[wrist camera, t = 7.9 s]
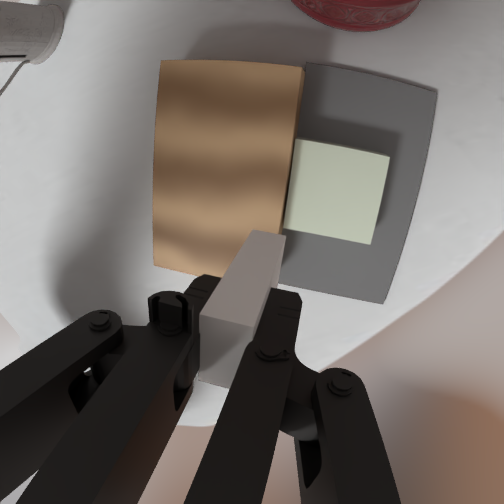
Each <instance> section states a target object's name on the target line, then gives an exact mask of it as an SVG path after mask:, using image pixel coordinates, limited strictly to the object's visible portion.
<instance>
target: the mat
mask: <svg viewBox="0 0 504 504" xmlns="http://www.w3.org/2000/svg"><path fill="white" fill-rule="evenodd" d="M436 98H437V93H436V92H432V91H429V90H426V89H423V88H420V87H417V86H413V85H410V84H406V83H403V82H399V81H395V80H392V79H388V78H384V77H380V76H376V75H371V74H367V73H362V72H358V71H353V70H348V69H343V68H338V67H332V66H326V65H320V64H314V63H306V71H305V79H304V86H303V94H302V101H301V108H300V116H299V123H298V130H297V137H302V138H308V139H314V140H320V141H325V142H331V143H336V144H342V145H347V146H352V147H357V148H361V149H366V150H371V151H375V152H380V153H384V154H386V155H388V156H389V157H390V160H389V165H388V170H387V175H386V180H385V185H384V189H383V194H382V199H381V203H380V207H379V212H378V216H377V220H376V224H375V228H374V232H373V236H372V240H371V244H370V245H369V244H364V243H359V242H354V241H349V240H344V239H339V238H334V237H328V236H323V235H318V234H313V233H307V232H302V231H297V230H291V229H286V228H283V229H282V235H285V236H286V240H285V246H284V251H283V257H282V263H281V269H280V274H279V280H278V283H279V284H284V285H289V286H293V287H298V288H303V289H308V290H313V291H318V292H322V293H327V294H332V295H337V296H342V297H347V298H352V299H357V300H362V301H367V302H373V303H378V304H383V303H384V301H385V298H386V295H387V292H388V290H389V287H390V284H391V281H392V278H393V275H394V272H395V269H396V266H397V263H398V260H399V257H400V254H401V251H402V248H403V245H404V241H405V238H406V235H407V231H408V228H409V224H410V221H411V217H412V214H413V210H414V206H415V202H416V199H417V195H418V191H419V186H420V182H421V178H422V174H423V169H424V165H425V160H426V155H427V151H428V145H429V140H430V135H431V129H432V124H433V118H434V111H435V105H436ZM297 137H296V138H297ZM286 205H287V204H286ZM285 212H286V210H285ZM284 219H285V217H284ZM283 226H284V223H283Z"/></svg>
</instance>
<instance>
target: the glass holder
mask: <svg viewBox="0 0 504 504" xmlns="http://www.w3.org/2000/svg"><path fill="white" fill-rule="evenodd" d="M63 27H64V16H63V12H62V10H61V8H60V7H58V6H57V5H47V6H39V5H32V4H24V3H16V2H6V1H0V62H18V61H24V62H22V63H20V64H19V66H18V67H17V68H16V69H15V71H14V72H13V73H12V75H11V76H10V78H9V79H8V81H7V82H6V84H5V85H4V86H3V88H2V89H1V90H0V96H1V95H2V93H3V92H4V91H5V89H6V88H7V86H8V85H9V84H10V82H11V81H12V79H13V78H14V76H15V75H16V74H17V72H18V71H19V69H20V68H21V67H22V66H23V65H24V64H27V63H31V64H40V63H42V62H44V61H45V60H47V59H48V58H49V57H50V56H51V54H52V53H53V52H54V50H55V49H56V47H57V45H58V43H59V41H60V39H61V36H62V32H63Z"/></svg>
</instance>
